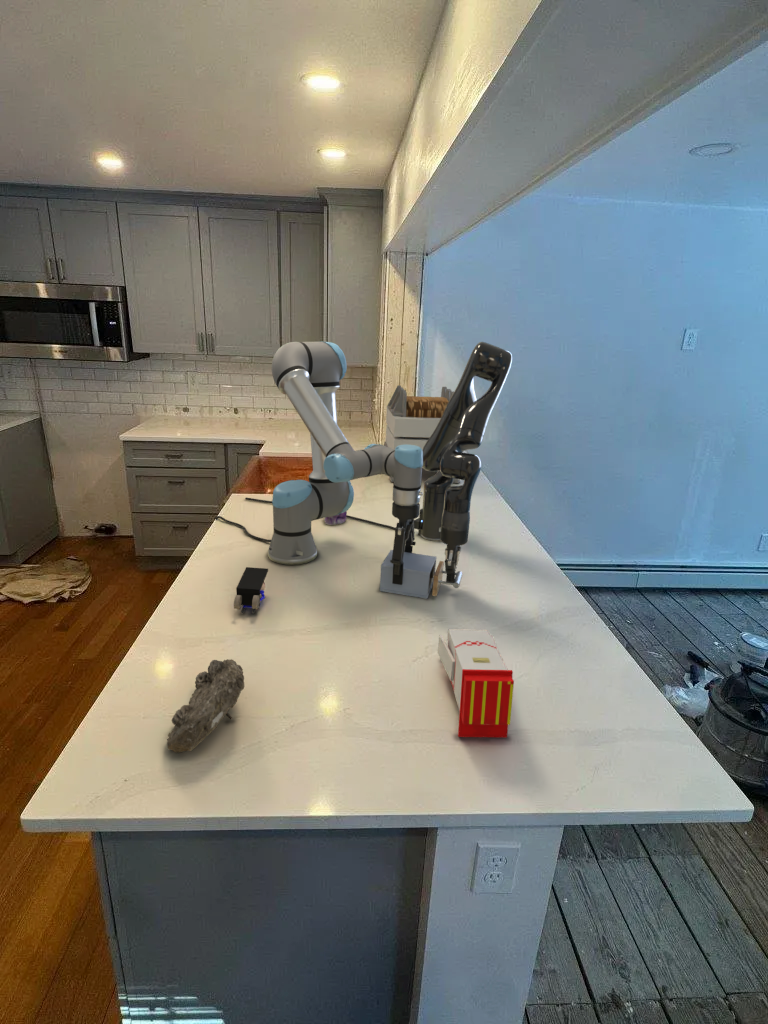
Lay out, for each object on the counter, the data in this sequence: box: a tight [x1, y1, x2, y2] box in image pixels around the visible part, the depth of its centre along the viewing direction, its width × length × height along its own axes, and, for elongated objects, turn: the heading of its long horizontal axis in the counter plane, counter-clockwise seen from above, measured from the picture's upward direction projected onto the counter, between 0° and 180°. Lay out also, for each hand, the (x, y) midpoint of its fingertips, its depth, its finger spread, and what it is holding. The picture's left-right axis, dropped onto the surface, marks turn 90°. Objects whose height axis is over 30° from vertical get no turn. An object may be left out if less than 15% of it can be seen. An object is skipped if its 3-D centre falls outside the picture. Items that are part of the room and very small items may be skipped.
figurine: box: [323, 510, 348, 526], centre depth 206 cm, size 9×10×15 cm
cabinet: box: [379, 549, 437, 599], centre depth 161 cm, size 14×11×8 cm
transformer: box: [383, 384, 461, 484], centre depth 268 cm, size 34×33×41 cm
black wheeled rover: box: [233, 566, 269, 615], centre depth 148 cm, size 7×8×15 cm
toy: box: [437, 628, 515, 738], centre depth 117 cm, size 12×13×30 cm
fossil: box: [166, 658, 245, 754], centre depth 106 cm, size 22×10×15 cm
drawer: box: [428, 560, 464, 597], centre depth 160 cm, size 18×10×6 cm, turn 75°
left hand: (402, 574), depth 162 cm, fingers closed on cabinet, 11 cm apart
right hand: (450, 582), depth 159 cm, fingers closed
